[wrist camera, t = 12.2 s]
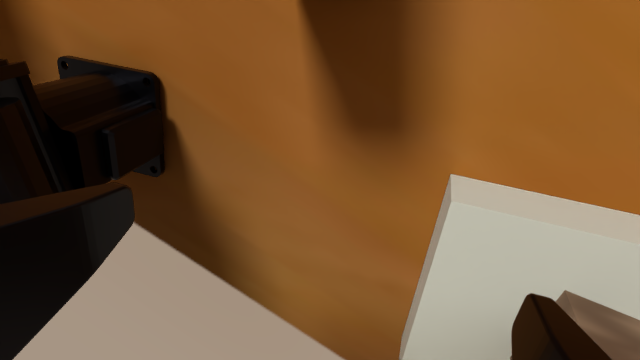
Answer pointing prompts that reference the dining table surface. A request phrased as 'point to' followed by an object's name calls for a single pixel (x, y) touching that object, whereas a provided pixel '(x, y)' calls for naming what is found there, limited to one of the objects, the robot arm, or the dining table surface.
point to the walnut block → (604, 326)
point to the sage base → (514, 266)
